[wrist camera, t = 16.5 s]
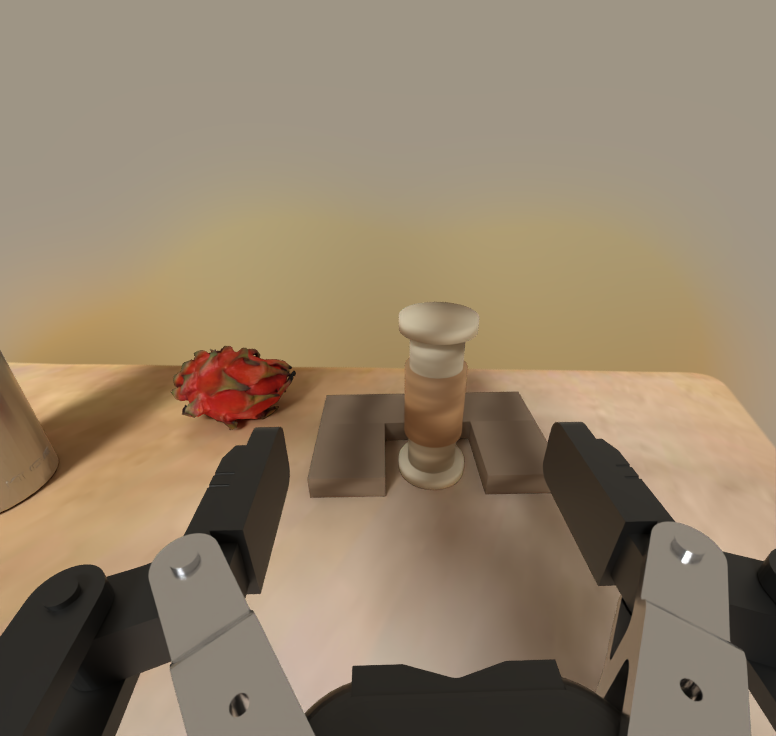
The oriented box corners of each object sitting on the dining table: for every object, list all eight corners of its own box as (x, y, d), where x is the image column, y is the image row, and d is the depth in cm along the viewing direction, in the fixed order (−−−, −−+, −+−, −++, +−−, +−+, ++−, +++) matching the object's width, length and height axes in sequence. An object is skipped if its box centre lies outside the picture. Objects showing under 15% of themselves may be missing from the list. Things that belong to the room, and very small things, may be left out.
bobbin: (400, 490, 32) (400, 331, 25) (397, 445, 37) (397, 302, 30) (468, 489, 32) (487, 330, 25) (457, 444, 37) (470, 301, 30)
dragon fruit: (177, 436, 41) (293, 423, 46) (165, 435, 33) (307, 420, 38) (173, 356, 42) (287, 352, 47) (161, 337, 34) (299, 334, 39)
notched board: (310, 497, 31) (307, 479, 30) (328, 411, 42) (326, 395, 41) (560, 492, 31) (565, 473, 31) (515, 407, 42) (518, 391, 41)
